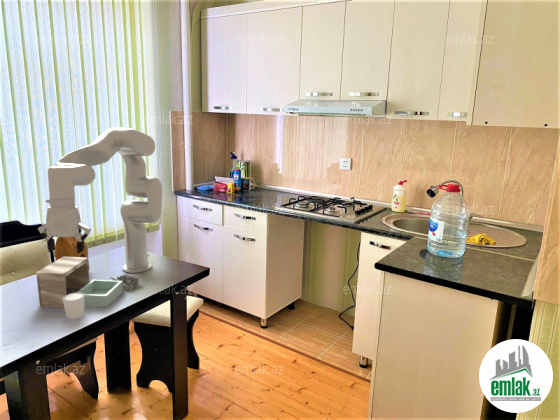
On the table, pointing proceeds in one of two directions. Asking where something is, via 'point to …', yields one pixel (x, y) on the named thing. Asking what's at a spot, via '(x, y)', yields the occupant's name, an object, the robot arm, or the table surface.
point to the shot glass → (74, 305)
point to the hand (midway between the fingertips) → (66, 251)
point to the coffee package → (69, 248)
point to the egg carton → (128, 281)
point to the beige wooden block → (61, 279)
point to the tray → (101, 292)
